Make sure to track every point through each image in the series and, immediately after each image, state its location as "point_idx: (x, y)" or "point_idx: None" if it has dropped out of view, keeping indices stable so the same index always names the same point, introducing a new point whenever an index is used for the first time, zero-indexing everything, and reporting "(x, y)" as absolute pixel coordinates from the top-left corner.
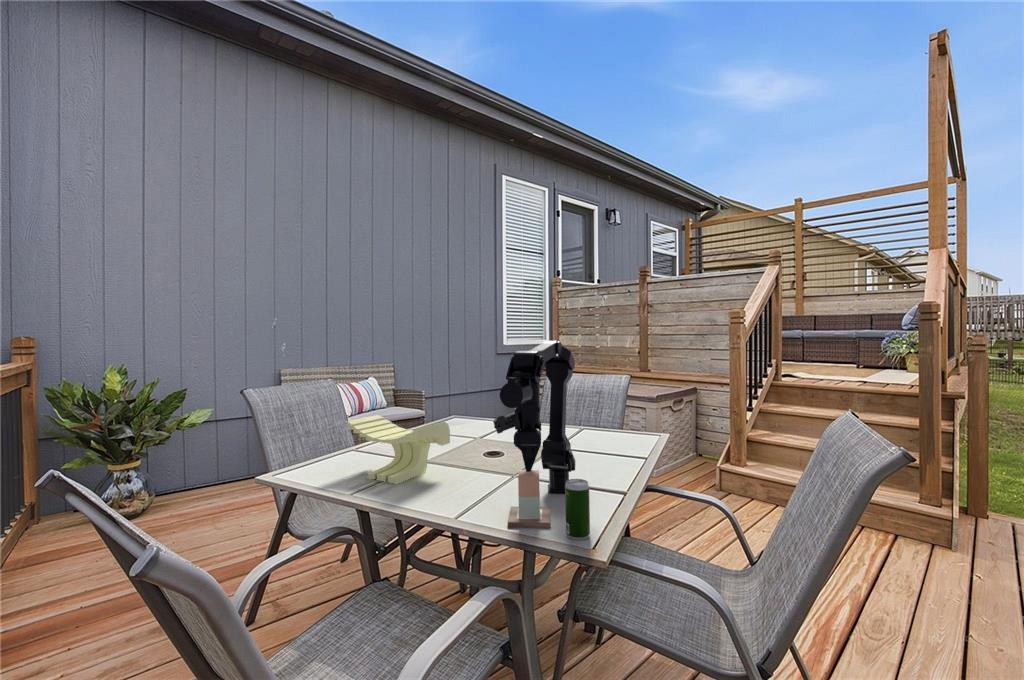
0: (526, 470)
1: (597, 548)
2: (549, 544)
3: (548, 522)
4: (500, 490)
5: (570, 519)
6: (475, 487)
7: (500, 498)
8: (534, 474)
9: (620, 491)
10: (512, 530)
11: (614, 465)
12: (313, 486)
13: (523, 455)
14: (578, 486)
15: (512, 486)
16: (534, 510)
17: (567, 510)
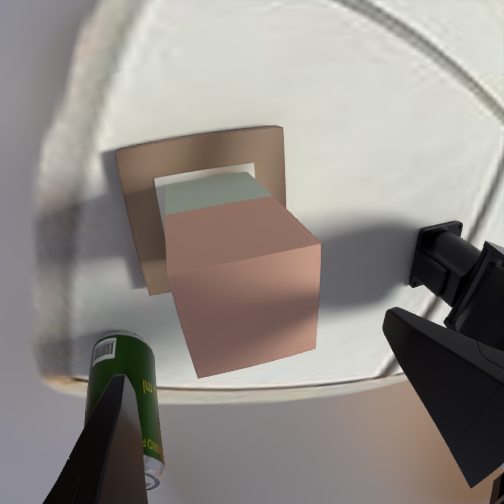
0: (110, 382)
1: (79, 384)
2: (47, 300)
3: (149, 290)
4: (447, 81)
5: (89, 381)
6: (458, 10)
7: (391, 78)
8: (224, 353)
9: (395, 366)
10: (96, 173)
11: None
12: None
13: (58, 489)
14: None
15: (469, 119)
16: None
17: (92, 393)
